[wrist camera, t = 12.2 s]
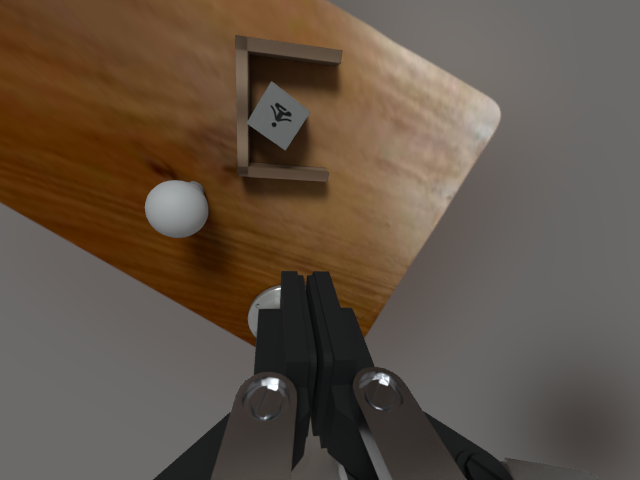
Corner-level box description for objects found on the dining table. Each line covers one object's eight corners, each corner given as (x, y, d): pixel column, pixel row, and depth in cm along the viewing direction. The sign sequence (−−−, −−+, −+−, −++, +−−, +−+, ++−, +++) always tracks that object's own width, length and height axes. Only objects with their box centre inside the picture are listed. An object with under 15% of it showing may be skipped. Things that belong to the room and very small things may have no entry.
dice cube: (306, 110, 36) (310, 112, 32) (283, 144, 38) (285, 150, 33) (271, 83, 35) (271, 81, 30) (249, 120, 36) (246, 123, 32)
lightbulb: (183, 156, 37) (150, 176, 27) (228, 182, 39) (212, 210, 29) (162, 195, 38) (124, 228, 28) (206, 219, 40) (185, 257, 31)
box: (324, 176, 40) (327, 181, 38) (240, 170, 38) (238, 176, 36) (337, 54, 34) (342, 50, 32) (238, 40, 32) (235, 35, 30)
